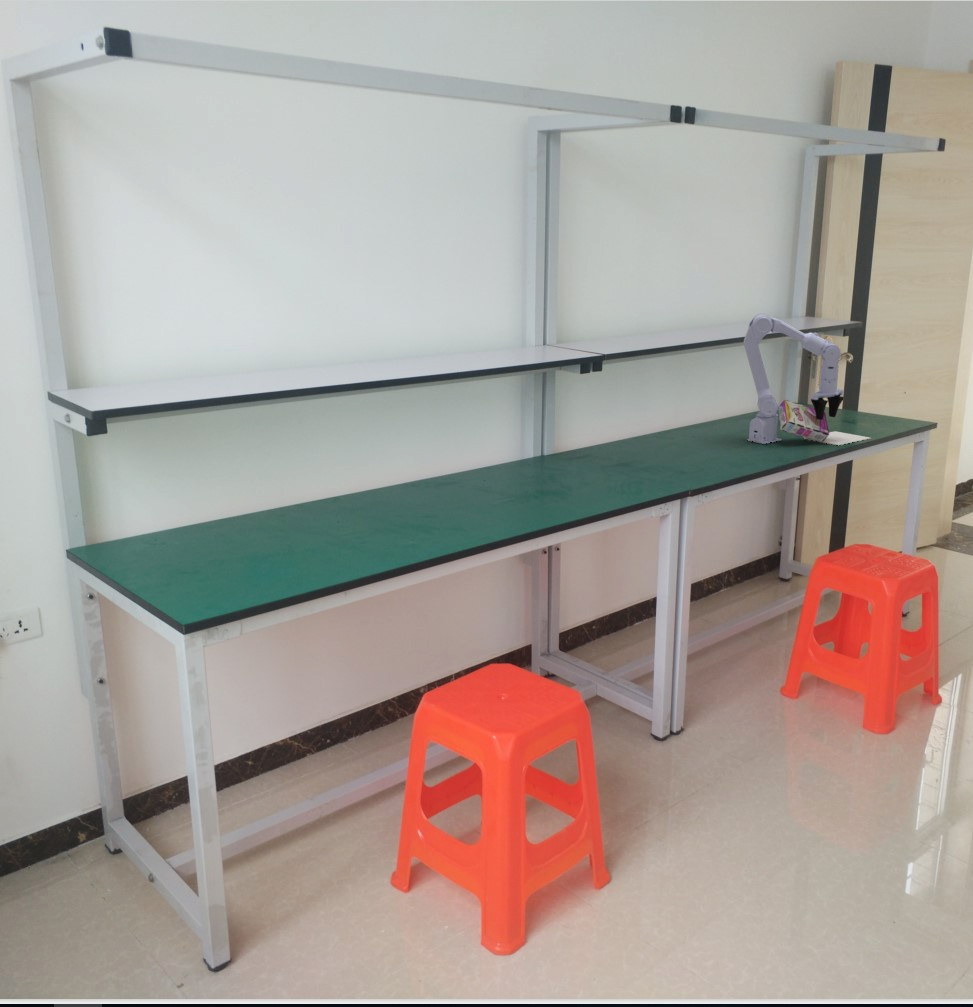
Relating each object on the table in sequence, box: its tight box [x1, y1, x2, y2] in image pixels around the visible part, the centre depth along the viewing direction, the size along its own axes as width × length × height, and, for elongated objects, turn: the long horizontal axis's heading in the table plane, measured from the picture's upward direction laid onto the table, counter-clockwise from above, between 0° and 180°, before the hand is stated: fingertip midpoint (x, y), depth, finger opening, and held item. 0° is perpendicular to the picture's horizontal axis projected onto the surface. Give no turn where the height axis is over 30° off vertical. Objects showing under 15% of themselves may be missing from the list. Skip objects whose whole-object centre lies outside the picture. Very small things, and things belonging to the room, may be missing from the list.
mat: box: [803, 430, 872, 447], centre depth 343 cm, size 18×15×1 cm
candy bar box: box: [777, 399, 830, 444], centre depth 338 cm, size 11×5×16 cm
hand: (825, 418), depth 337 cm, fingers open, 6 cm apart
